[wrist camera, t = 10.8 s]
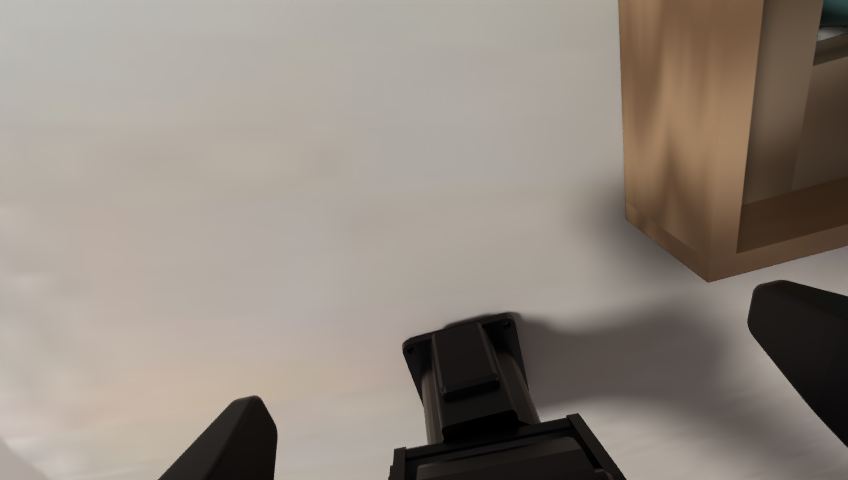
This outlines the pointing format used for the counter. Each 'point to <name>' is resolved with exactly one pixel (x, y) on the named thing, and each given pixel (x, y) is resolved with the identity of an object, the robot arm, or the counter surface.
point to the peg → (834, 13)
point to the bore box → (734, 131)
